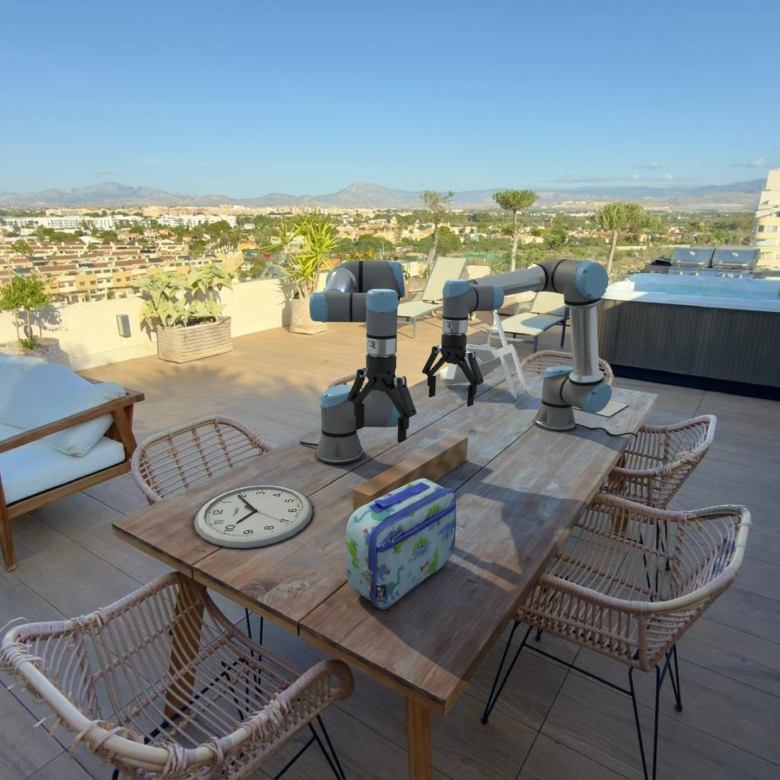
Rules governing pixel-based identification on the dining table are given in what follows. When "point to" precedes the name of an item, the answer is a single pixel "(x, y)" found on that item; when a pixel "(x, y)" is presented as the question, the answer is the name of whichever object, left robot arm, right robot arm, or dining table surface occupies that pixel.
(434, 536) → the lunch box
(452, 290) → the right robot arm
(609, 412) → the invitation card
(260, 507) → the wall clock
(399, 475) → the post
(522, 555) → the dining table surface
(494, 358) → the white plastic object
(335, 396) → the left robot arm
